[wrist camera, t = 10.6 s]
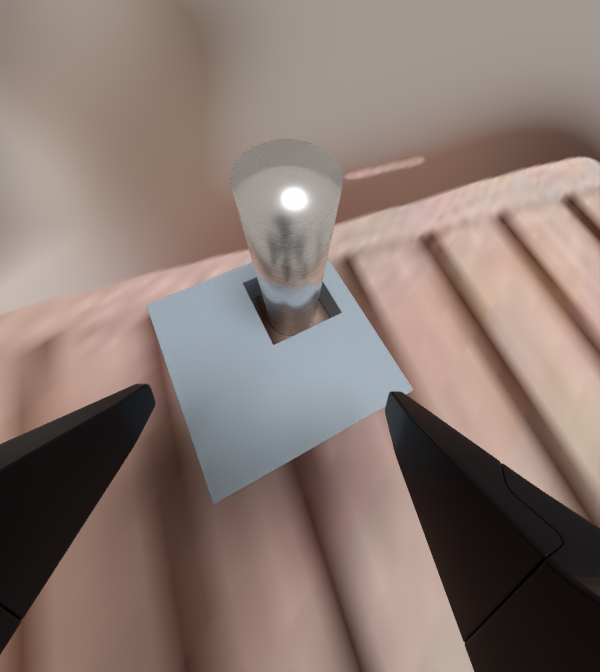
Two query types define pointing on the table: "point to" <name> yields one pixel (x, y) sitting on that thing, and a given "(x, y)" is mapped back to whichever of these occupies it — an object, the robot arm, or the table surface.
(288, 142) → the polished metal rod
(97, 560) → the table surface
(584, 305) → the table surface
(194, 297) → the jig plate
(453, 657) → the table surface
